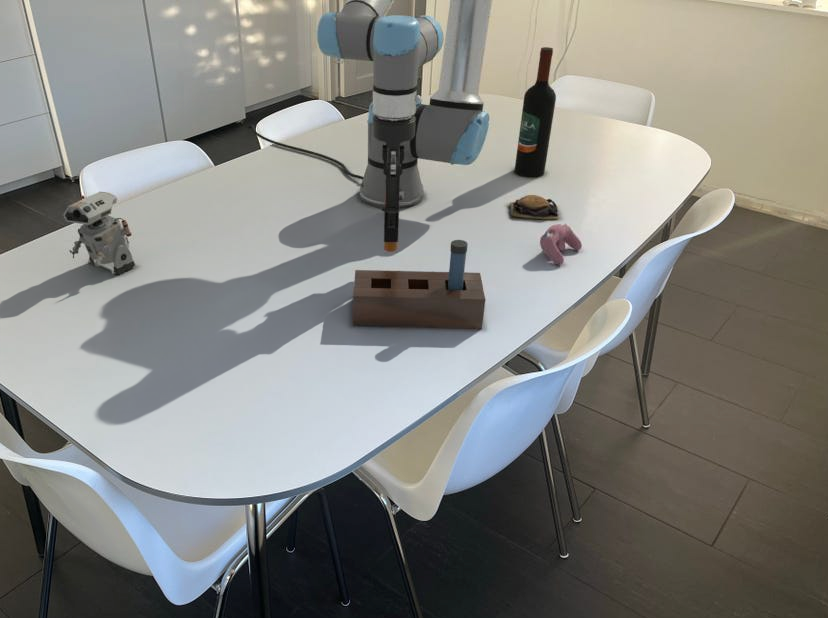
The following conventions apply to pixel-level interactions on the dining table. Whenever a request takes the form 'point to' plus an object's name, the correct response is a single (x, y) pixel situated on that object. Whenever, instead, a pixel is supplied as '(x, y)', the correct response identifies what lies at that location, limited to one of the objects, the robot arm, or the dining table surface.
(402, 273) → the rack
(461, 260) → the smoke-blue tube
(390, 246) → the amber tube
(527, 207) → the bread roll
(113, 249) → the figurine
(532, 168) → the wine bottle
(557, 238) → the video game controller
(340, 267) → the dining table surface
